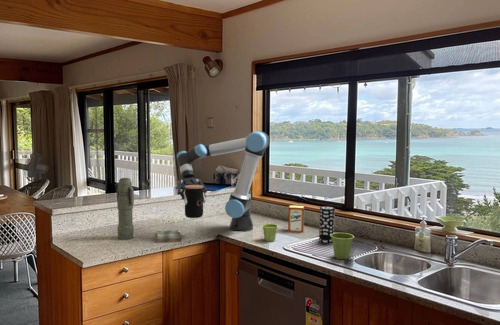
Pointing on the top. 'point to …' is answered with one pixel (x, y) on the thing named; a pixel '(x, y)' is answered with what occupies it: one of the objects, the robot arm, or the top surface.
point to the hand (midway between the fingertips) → (195, 202)
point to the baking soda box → (296, 218)
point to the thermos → (125, 209)
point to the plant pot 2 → (342, 244)
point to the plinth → (167, 236)
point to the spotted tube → (326, 224)
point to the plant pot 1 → (269, 231)
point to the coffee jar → (194, 201)
